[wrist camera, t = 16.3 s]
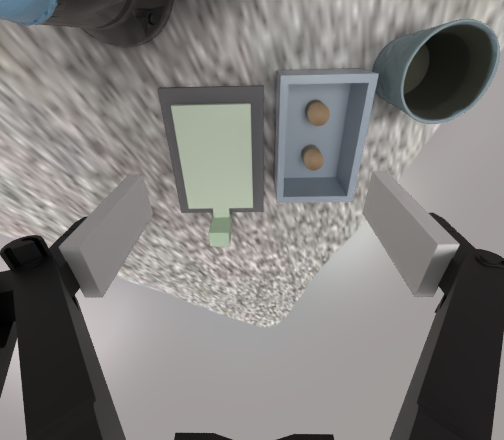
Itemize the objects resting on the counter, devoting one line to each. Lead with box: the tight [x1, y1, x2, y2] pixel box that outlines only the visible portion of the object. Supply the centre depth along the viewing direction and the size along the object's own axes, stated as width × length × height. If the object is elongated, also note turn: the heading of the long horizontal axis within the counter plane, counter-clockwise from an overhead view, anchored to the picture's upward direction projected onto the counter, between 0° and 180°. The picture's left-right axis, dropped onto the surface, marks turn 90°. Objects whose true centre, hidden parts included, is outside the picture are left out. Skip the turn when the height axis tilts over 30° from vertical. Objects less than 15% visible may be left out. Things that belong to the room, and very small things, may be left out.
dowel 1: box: [305, 99, 330, 126], centre depth 41 cm, size 3×3×4 cm
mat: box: [158, 85, 264, 213], centre depth 47 cm, size 16×22×1 cm
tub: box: [274, 68, 379, 203], centre depth 42 cm, size 12×18×8 cm, turn 1°
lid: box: [171, 103, 253, 246], centre depth 45 cm, size 12×23×7 cm, turn 1°
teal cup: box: [373, 19, 500, 124], centre depth 35 cm, size 10×10×12 cm
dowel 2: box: [301, 145, 324, 171], centre depth 45 cm, size 3×3×4 cm
